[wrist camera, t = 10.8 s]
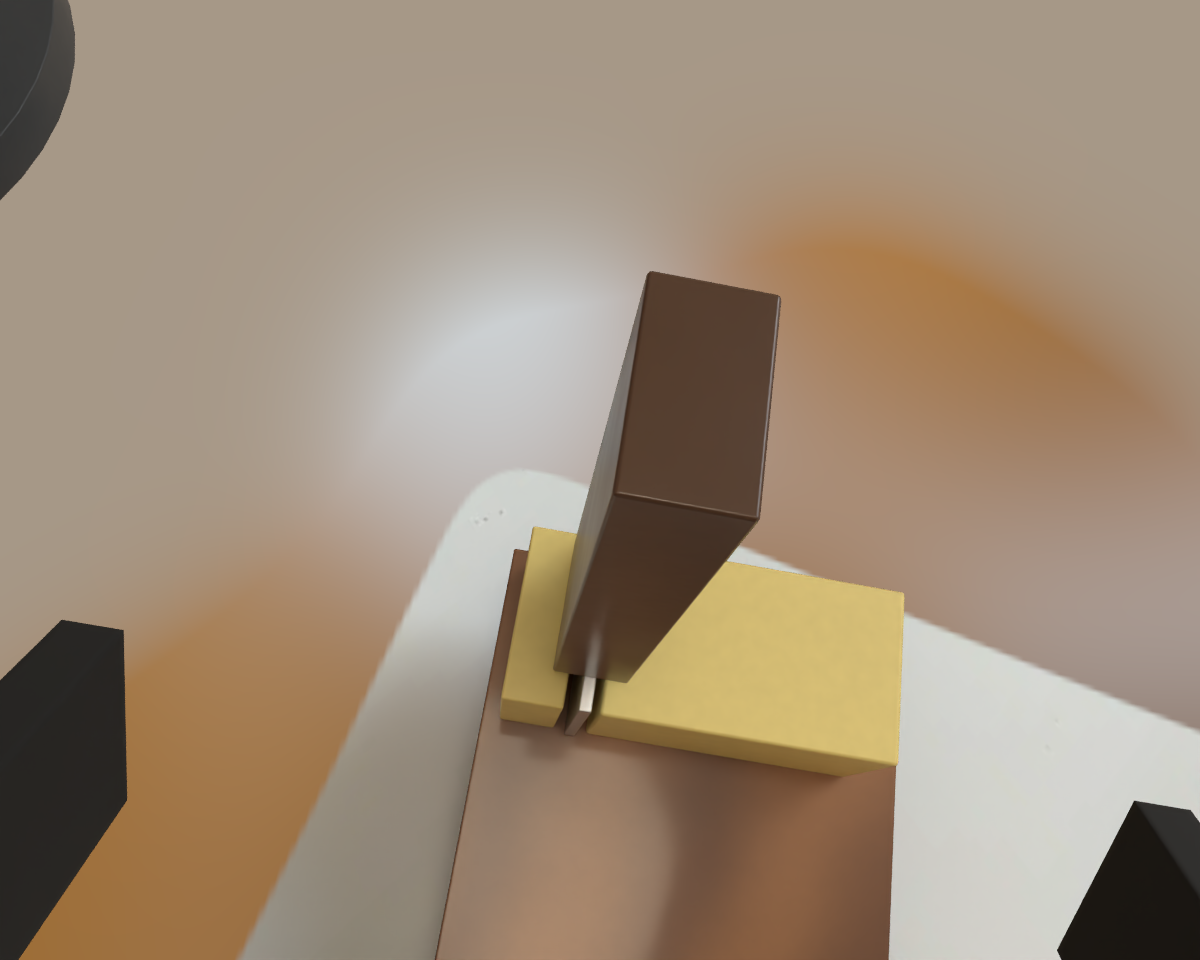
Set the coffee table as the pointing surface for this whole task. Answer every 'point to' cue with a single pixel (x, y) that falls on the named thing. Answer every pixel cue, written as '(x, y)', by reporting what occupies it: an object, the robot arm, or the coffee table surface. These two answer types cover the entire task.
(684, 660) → the butter
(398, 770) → the coffee table surface
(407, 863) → the coffee table surface
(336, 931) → the coffee table surface
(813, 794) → the board
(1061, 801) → the coffee table surface
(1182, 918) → the robot arm
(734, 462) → the knife
